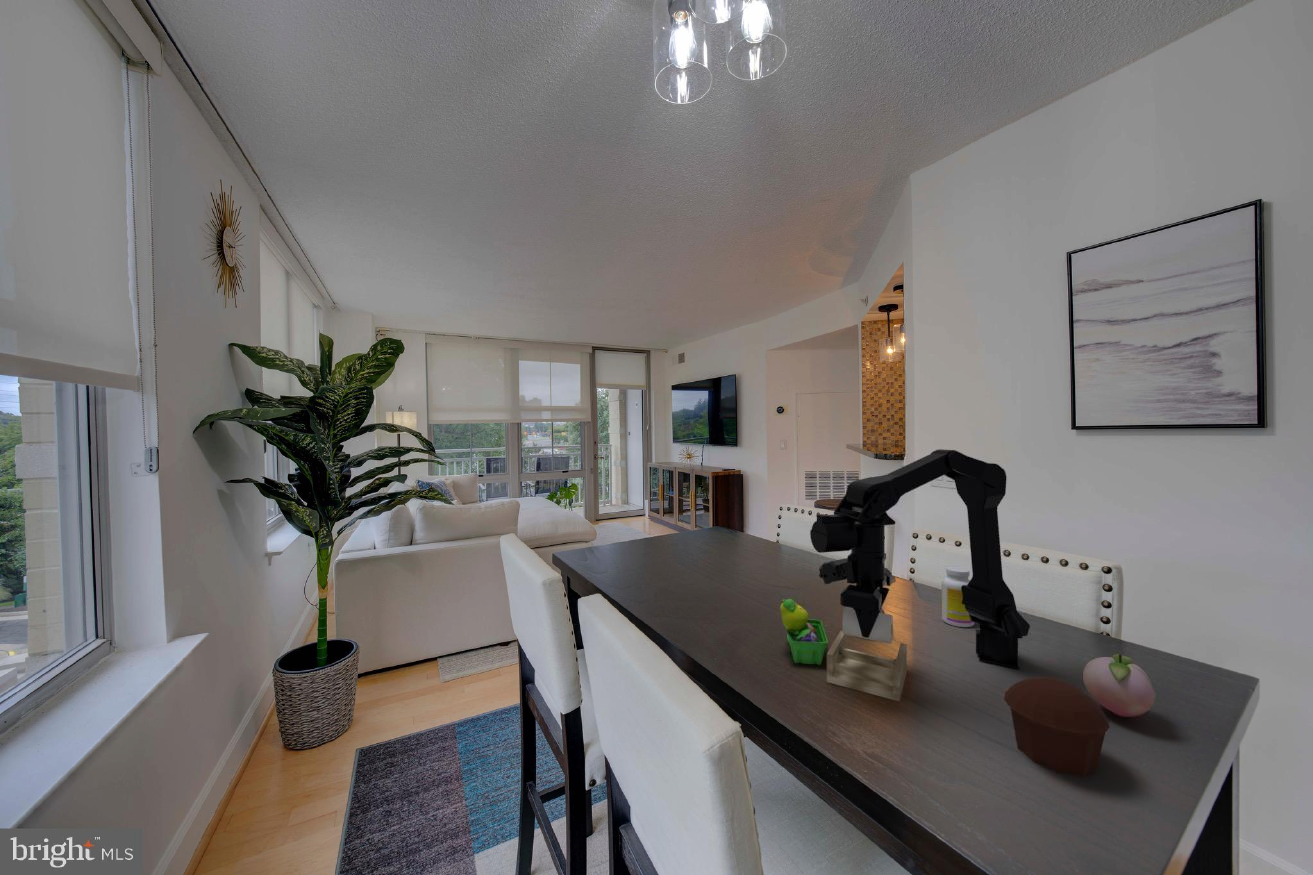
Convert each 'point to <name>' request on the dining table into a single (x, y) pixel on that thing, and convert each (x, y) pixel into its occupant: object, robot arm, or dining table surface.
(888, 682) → the roll cradle
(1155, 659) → the dining table surface
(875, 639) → the paper roll
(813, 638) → the fruit basket
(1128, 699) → the decorative fruit
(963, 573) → the supplement bottle
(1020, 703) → the muffin
